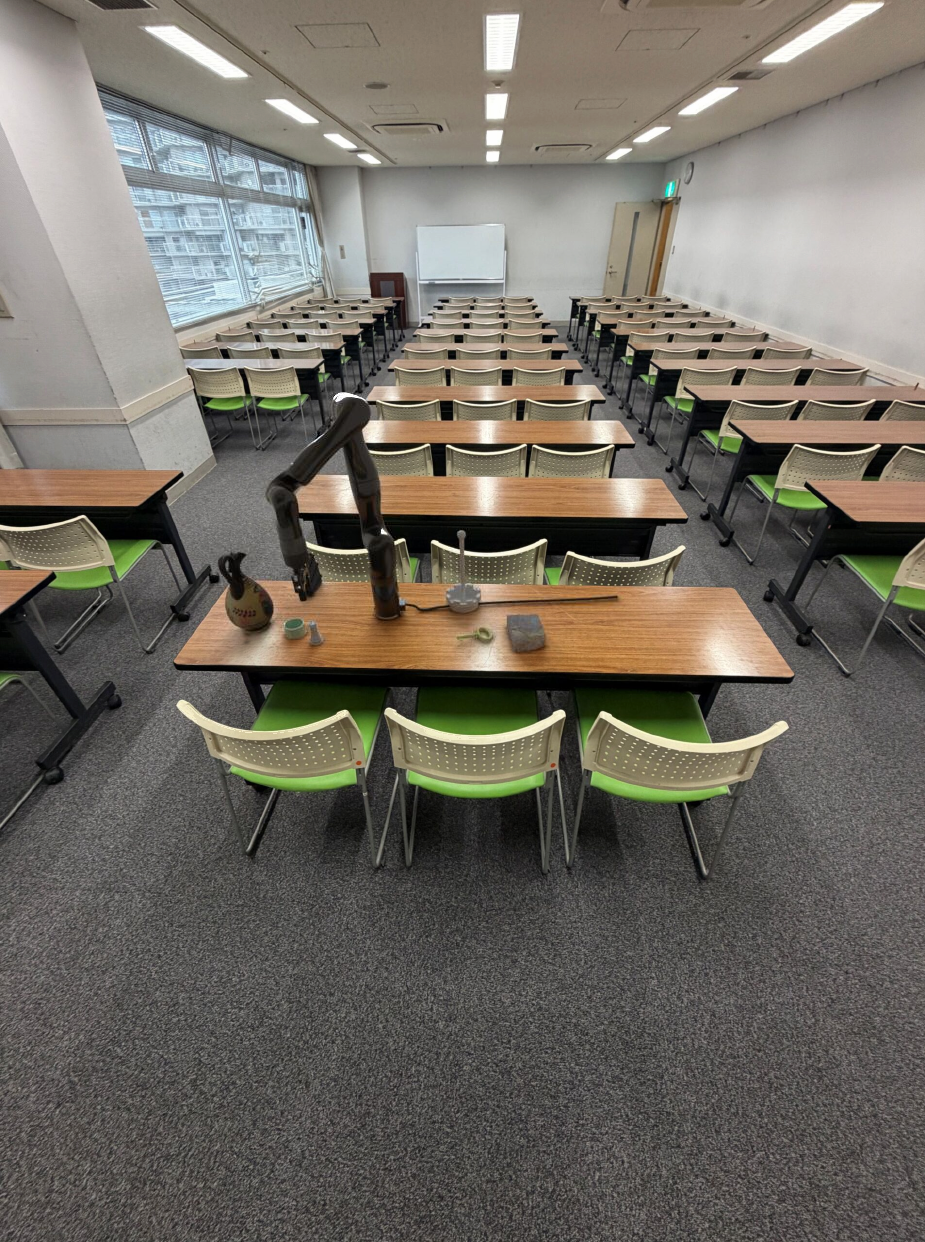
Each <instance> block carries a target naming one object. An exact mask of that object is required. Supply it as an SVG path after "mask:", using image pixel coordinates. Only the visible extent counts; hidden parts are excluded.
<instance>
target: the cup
mask: <svg viewBox="0 0 925 1242" xmlns="http://www.w3.org/2000/svg"><path fill="white" fill-rule="evenodd" d="M283 629H284V633H285V637H286V638H287V639H289V640H299V639H302V638H303V637H304V636H305V635H306V634H307V628H306V624H305V621H304V619H303V618H301V617H293V618H289V619H287V620H286V621H284V623H283Z"/></svg>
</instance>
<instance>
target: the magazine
mask: <svg viewBox="0 0 925 1242" xmlns="http://www.w3.org/2000/svg"><path fill="white" fill-rule="evenodd" d="M308 553H309V557H310V561H309V562H308V565H309V569H310V571H309V574H310V575H309V578H310V582H311V587H305V591H306V595H307V597H314V595H316V592H317V591H318V589H319V588H320V586H321V585H322V583H323V580H322V578H323V574H322V573H321V572H320V568H319V565H320V564H319V562H317V560H316V559H315V558H316V557H315V556H316V555H315V554H314V553H311V552H308ZM301 581H303V580H301Z"/></svg>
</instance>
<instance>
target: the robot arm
mask: <svg viewBox="0 0 925 1242" xmlns="http://www.w3.org/2000/svg"><path fill="white" fill-rule="evenodd" d="M330 413H331V418H332V421H333V423H332V424H331V426H329V428H328V429H327V430H326V431H325V432H324V433H323V434H321V435H320V436H319V437H318V438H316V439H315V440H313V441H312V442H310V443H309V444H307V446H306V447H304V448H303V449H302V450H301V451H300V452H299V453H298V455H297V456H296V457H295V458H294V459H293V461H292V462H291V463H290V464H289V466H288V467H286V468H285V469H284V470H283V471H282V472H280V473H279V474H278V475H276V476H275V477H273V479H271V481H270V482H269V483H268V484H267V486H266V488H265V490H264V497H265V499H266V501H267V502H268V503H269V505H271V506H272V507H273V510H274V513H275V518H276V519H275V521H274V526H275V529H276V533H277V536H278V540H279V547H280V552H281V554H282V558H283V561H284V564H285V566H287V567H288V568H291V569H292V570H291V574H292V575H291V576H290V579H291V583H292V586H293V590H294V593H295V594H298V598H299V599H298V600H299V602H300V603H301V602H303V603H304V602H308V596H307V595H306V591H305V587H311V582H310V578H309V575H310V574H309V571H310V569H309V565H308V562H309V561H310V557H309V553H310V552H309V549H308V546H307V545H308V544H307V541H306V537H305V536H304V532H303V528H302V525H301V520H300V507H299V501H298V497H297V495H296V493H295V492H296V491H297V490H298V489H299V488H300V487H307V486H308V485H310V484H311V482H312V481H313V480H314V479H315V477H316V476H317V475H318V474H319V473H320V471H321V470H323V468H324V467H325V466H326V464H327V463H328V462H329V461H330V460H331V459H332V458H333V456H334V455H336V454H337V453H338V452H339V451H340V450H341V449H342V453H343V458H344V462H345V467H346V471H347V476H348V477H347V478H348V481H349V486H350V490H351V493H352V497H353V500H354V504H355V507H356V509H357V512H358V516H359V521H360V522H359V523H360V529H361V530H360V531H361V539H362V544H363V547H365V549H366V551H367V554H368V559H369V566H368V573H369V580H370V586H371V593H372V600H373V605H374V607H373V611H374V614H375V617H376V618H377V619H378V620H381V621H391V620H394V619H397V618H399V617H400V618H401V617H402V612H406V610H407V607H410V608H415V610H417V611H419V612H429V611H434V610H438V609H447V608H450V605H449V604H443V605H436V606H432V607H426V608H421V607H419V606H418V605H416V604H413V603H407V601H406V598H405V597H403V598H401V596H400V588H399V583H398V575H397V565H398V562H397V561H398V559H397V548H396V543H395V540H394V538H393V537H392V535H391V534H390V532H389V531H388V530H387V528H386V526H385V525H386V524H385V522H384V519H383V514H382V510H381V506H382V505H381V504H382V486H381V480H380V475H379V471H378V466H377V465H376V462H375V460H374V458H373V456H372V453H371V452H370V450H369V448H368V446H367V443H366V440H365V437H364V432H363V429H365V428H366V427H367V425H369V423H370V420H371V417H372V410H371V406H370V404H369V402H368V401H366V400H365V399H364V398H362V397H361V396H358V395H356V394H353V393H349V392H339V393H338V394H336V395H335V396H334V397H333V399H332V401H331V405H330ZM301 580H303V581H301ZM618 598H619V596H618V595H608V596H605V595H604V596H595V597H594V596H591V597H575V598H573V597H572V598H549V599H547V598H545V599H517V600H497V601H479V603H478V606H484V605H502V604H526V603H527V604H528V603H554V602H555V603H556V602H557V603H558V602H579V601H597V600H598V601H599V600H612V599H618Z"/></svg>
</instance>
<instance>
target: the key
mask: <svg viewBox="0 0 925 1242" xmlns="http://www.w3.org/2000/svg"><path fill="white" fill-rule="evenodd" d="M481 631H484V632H485V633H487V634H488V636H489V637H484V636H483V635H481V633H480V632H481ZM473 638H475V639H477V638H478V639H479V640H480V641H482V642H485V643H487V642H491V641H492V639H493V634H492V631H491V630H490V629H488V628H487V627H484V626H480V627H478V628H477V630H476V632H474V633H470V634H469V633H468V634H462V635H461V634H460V635H456V639H457V640H458V641H459V642H464V639H465V640H466V639H473Z"/></svg>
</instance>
